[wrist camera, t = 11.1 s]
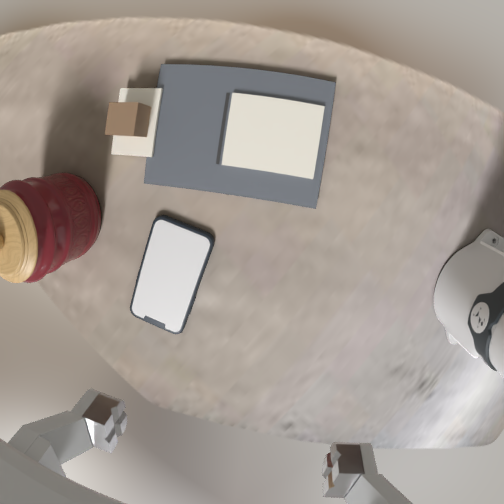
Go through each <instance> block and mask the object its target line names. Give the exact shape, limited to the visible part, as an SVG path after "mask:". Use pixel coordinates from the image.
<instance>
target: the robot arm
mask: <svg viewBox="0 0 504 504" xmlns="http://www.w3.org/2000/svg"><path fill="white" fill-rule="evenodd" d="M493 239H494V241H493V242H492V240H493ZM434 309H435V313H436V315H437V318H438V319H439V321H440V322H441V323H442V325H443V326H444V327H445V329H446V336H447V340H448V341H449V342H450V343H451V344H453V345H455V344H460V345H461V346H462V347H463V348H464V349H465V350H466V351H467V352H468V353H469V354H470V355H472V356H473V357H474V358H478V357H481V359H482V360H483V361H484V362H485V363H486V364H487V365H488V366H490V368H491V369H493V370H495V371H498V372H499V374H500V375H501V376H502V377H503V379H504V238H503V237H501V236H500V235H498V234H497V233H495V232H494V231H492V230H490V229H486V230H484V231H483V232H482V233H481V234H480V235H479V236H478V238H477V239H476V240H475V241H474V242H473V243H471V244H470V245H468V246H466V247H464V248H462V249H461V250H459V251H458V252H457V253H456V254H454V255H453V256H452V257H451V259H450V260H449V261H448V262H447V264H446V265H445V266H444V268H443V270H442V272H441V273H440V276H439V278H438V280H437V283H436V287H435V292H434ZM124 409H125V402H124V401H123V400H120V399H117V398H115V397H112V396H110V395H107V394H105V393H102V392H99V391H97V390H94V389H89V390H87V391H86V393H85V394H84V395H83V396H82V398H81V399H80V400H79V402H78V403H77V404H76V405H75V407H74V408H73V409H72V411H71V412H69V411H65V412H62V413H60V414H57V415H54V416H50V417H47V418H44V419H41V420H39V421H35V422H32V423H29V424H26V425H23V426H22V427H21V428H20V429H19V431H18V432H17V433H16V434H15V435H14V436H13V437H12V439H11V440H10V441H9V442H8V443H6V442H5V441H3V440H2V439H0V504H126V503H123V502H121V501H118V500H115V499H113V498H110V497H108V496H105V495H103V494H101V493H98V492H96V491H94V490H92V489H89V488H87V487H85V486H83V485H80V484H78V483H76V482H74V481H72V480H70V479H68V478H66V475H65V473H64V471H63V469H62V467H61V464H63V463H65V462H67V461H69V460H71V459H72V458H74V457H76V456H78V455H80V454H82V453H84V452H86V451H87V450H89V449H91V448H92V447H96V448H99V449H101V450H104V451H106V452H109V453H112V452H113V450H114V448H115V446H116V445H117V443H118V440H117V437H118V436H120V435H122V434H123V432H124V430H125V427H126V424H127V415H126V413H125V412H124V411H123V410H124ZM322 475H323V476H324V478H325V479H326V480H325V481H324V483H323V497H334V498H335V497H336V498H344V500H345V501H346V503H347V504H412V503H411V502H410V501H409V500H408V499H407V498H406V497H405V496H404V495H403V494H402V493H401V492H400V491H398V490H397V489H396V488H395V487H394V486H393V485H392V484H391V483H390V482H389V481H388V480H387V479H386V478H385V477H384V476H383V475H382V474H378V472H377V467H376V462H375V458H374V452H373V448H372V445H371V444H370V443H345V442H334V443H332V445H331V447H330V453H328V454H327V455H326V457H325V459H324V462H323V468H322Z"/></svg>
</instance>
